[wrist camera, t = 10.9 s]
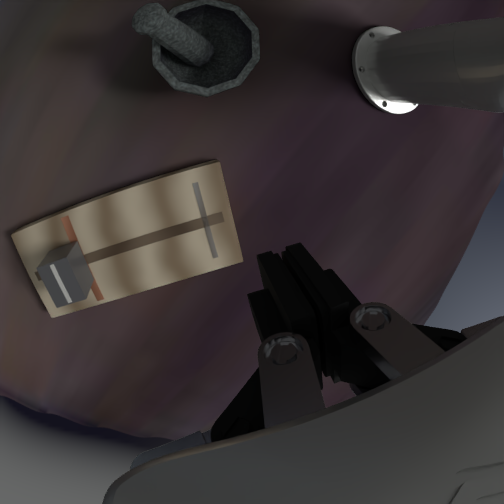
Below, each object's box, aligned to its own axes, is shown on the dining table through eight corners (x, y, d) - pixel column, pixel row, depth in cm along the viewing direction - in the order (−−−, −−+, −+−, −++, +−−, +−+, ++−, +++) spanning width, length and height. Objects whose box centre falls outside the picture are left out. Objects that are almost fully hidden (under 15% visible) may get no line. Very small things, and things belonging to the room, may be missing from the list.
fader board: (216, 159, 33) (219, 161, 31) (239, 254, 39) (243, 261, 37) (17, 229, 30) (10, 235, 28) (56, 309, 35) (51, 318, 33)
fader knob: (77, 240, 30) (66, 257, 26) (94, 279, 33) (86, 299, 29) (49, 251, 30) (36, 268, 26) (66, 287, 32) (56, 308, 28)
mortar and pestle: (254, 35, 28) (294, 0, 18) (231, 108, 31) (261, 102, 21) (157, 11, 25) (153, -37, 14) (130, 87, 28) (110, 69, 17)
